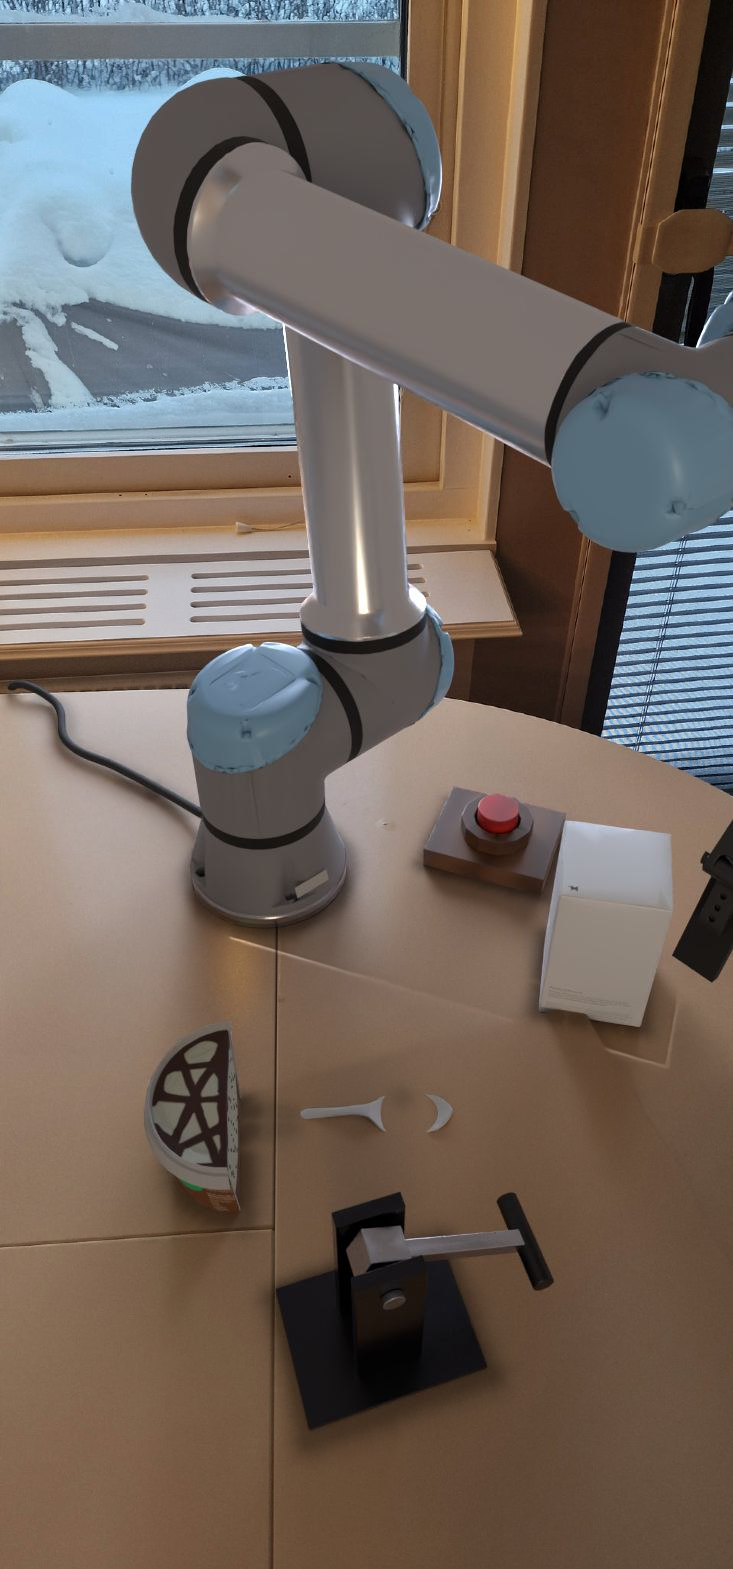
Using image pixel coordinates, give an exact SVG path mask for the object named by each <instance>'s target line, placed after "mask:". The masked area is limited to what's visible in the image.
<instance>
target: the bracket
mask: <svg viewBox="0 0 733 1569" xmlns="http://www.w3.org/2000/svg"><path fill="white" fill-rule="evenodd" d="M330 1215H331V1230H332V1246H333V1247H332V1249H333V1263H334V1269H333V1270H330V1271H327V1272H324V1273H320V1274H317V1275H314V1276H312V1277H308V1278H305V1279H304V1278H303V1279H301V1280H299V1281H295V1282H292V1283H289V1284H286V1285H282V1286H280V1287H277V1288H275V1294H276V1298H277V1303H278V1307H279V1311H280V1315H281V1320H282V1323H283V1328H284V1331H285V1337H286V1341H287V1344H288V1348H289V1353H290V1357H291V1360H292V1361H291V1362H292V1365H293V1369H294V1374H295V1378H296V1381H297V1382H296V1383H297V1385H298V1386H297V1387H298V1390H299V1394H300V1398H301V1403H302V1407H303V1410H304V1415H305V1419H306V1424H307V1427H308V1428H307V1429H308V1430H309V1431H313V1430H315V1429H319V1428H322V1427H324V1426H327V1425H330V1424H334V1423H335V1422H340V1421H341V1420H344V1419H347V1418H349V1417H352V1416H355V1415H359V1414H362V1413H365V1412H367V1411H370V1410H372V1409H375V1408H379V1407H381V1406H385V1405H387V1404H389V1403H393V1402H395V1401H399V1400H401V1399H404V1398H406V1397H410V1396H412V1395H415V1394H419V1393H421V1392H424V1391H426V1390H429V1389H433V1388H435V1387H437V1386H441V1385H444V1384H447V1383H449V1382H452V1381H456V1380H458V1379H461V1378H464V1377H466V1376H470V1375H472V1374H474V1373H478V1372H481V1371H483V1370H486V1369H488V1365H487V1362H486V1359H485V1355H484V1354H483V1351H482V1348H481V1344H480V1343H479V1341H478V1337H477V1334H476V1332H475V1329H474V1326H473V1323H472V1321H471V1318H470V1316H469V1313H468V1311H467V1307H466V1305H465V1302H464V1300H463V1296H462V1294H461V1292H460V1290H459V1286H458V1284H457V1280H456V1278H455V1275H454V1273H453V1270H452V1267H451V1265H450V1262H449V1260H441V1261H431V1262H425V1260H424V1257H423V1255H419V1256H416V1257H413V1258H410V1259H406V1260H403V1261H400V1262H397V1263H394V1264H391V1265H388V1266H385V1267H382V1268H378V1269H375V1270H372V1271H369V1272H366V1273H363V1274H360V1275H357V1276H354V1275H353V1272H352V1268H351V1265H350V1262H349V1258H348V1255H347V1252H346V1249H347V1248H348V1246H349V1245H350V1243H351V1242H352V1241H353V1239H354V1238H355V1236H356V1235H357V1234H358V1232H359V1231H360V1229H362V1228H373V1227H385V1226H397V1225H400V1226H401V1228H402V1231H403V1234H404V1235H405V1229H406V1228H405V1227H406V1202H405V1201H404V1198H403V1195H402V1192H401V1191H397V1192H394V1193H391V1194H387V1195H385V1196H381V1197H377V1198H375V1199H371V1200H368V1201H364V1202H361V1203H358V1204H355V1205H352V1206H348V1207H344V1208H342V1209H337V1210H335V1211H332V1212H331V1213H330Z"/></svg>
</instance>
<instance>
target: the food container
mask: <svg viewBox="0 0 733 1569" xmlns="http://www.w3.org/2000/svg"><path fill="white" fill-rule="evenodd" d="M232 1032H233V1029H232V1026H231V1023H230V1021H229V1020H227V1021H221V1022H216V1023H215V1022H214V1023H212V1024H208V1025H205V1026H203V1027H200V1028H199V1029H195V1030H193V1031H192V1032H191V1033H189V1034H187V1035H186V1036H184V1037H182V1038H181V1039H180V1040H179V1041H178V1042H176V1043H175V1044H174V1045H173V1046H172V1047H171V1048H170V1049H169V1050H168V1051H167V1052H166V1053H165V1054H164V1055H163V1057H162V1058H161V1060H160V1061H159V1063H158V1065H157V1066H156V1068H155V1069H154V1071H153V1073H152V1076H151V1077H150V1080H149V1083H148V1086H147V1089H146V1094H145V1101H144V1109H143V1124H144V1125H143V1126H144V1131H145V1136H146V1139H147V1143H148V1144H149V1147H150V1149H151V1151H152V1153H153V1154H154V1156H155V1158H156V1159H157V1161H158V1162H159V1163H160V1164H161V1165H162V1166H163V1168H164V1169H165V1170H167V1171H168V1172H170V1173H171V1174H172V1175H173V1176H174V1177H175V1178H177V1179H178V1181H179V1183H180V1184H181V1186H182V1187H183V1189H184V1191H186V1193H187V1194H188V1195H189V1196H190V1197H191V1198H192V1199H194V1200H195V1201H196V1202H197V1203H199V1204H201V1205H203V1206H205V1207H207V1208H210V1209H212V1210H216V1211H219V1212H228V1213H237V1212H239V1213H240V1212H241V1206H240V1196H241V1194H240V1192H241V1188H240V1187H241V1157H240V1156H241V1154H240V1153H241V1099H242V1096H243V1095H242V1090H241V1084H240V1078H239V1073H238V1067H237V1060H236V1054H235V1050H234V1043H233V1038H232Z"/></svg>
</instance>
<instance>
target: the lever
mask: <svg viewBox="0 0 733 1569" xmlns="http://www.w3.org/2000/svg"><path fill="white" fill-rule="evenodd" d="M496 1205H497V1207H498V1210H499V1212H500V1215H501V1217H502V1220H503V1222H504V1224H505V1226H506V1228H507V1230H496V1231H495V1230H494V1231H485V1232H473V1233H472V1232H471V1233H461V1234H450V1235H449V1234H448V1235H440V1236H428V1237H418V1238H417V1237H416V1238H406V1237H405V1233H404V1234H403V1231H402V1228H401V1226H400V1225H397V1226H385V1227H373V1228H362V1229H360V1231H359V1232H358V1234H357V1235H356V1236H355V1238H354V1239H353V1241H352V1242H351V1243H350V1245H349V1246H348V1248H347V1249H346V1252H347V1255H348V1258H349V1262H350V1265H351V1268H352V1272H353V1275H354V1276H357V1275H360V1274H363V1273H366V1272H369V1271H372V1270H375V1269H378V1268H382V1267H385V1266H388V1265H391V1264H394V1263H397V1262H400V1261H403V1260H406V1259H410V1258H413V1257H416V1256H419V1255H423V1257H424V1260H425V1262H431V1261H441V1260H448V1261H449V1260H458V1259H460V1260H461V1259H467V1258H468V1259H469V1258H478V1257H488V1256H497V1255H506V1254H516V1253H517V1254H518V1255H517V1256H518V1257H519V1259H520V1262H521V1264H522V1266H523V1269H524V1271H525V1273H526V1276H527V1278H528V1280H529V1283H530V1285H531V1287H532V1290H533V1291H534V1292H535V1291H536V1292H539V1291H543V1290H546V1289H548V1288H549V1287H551V1286H552V1285H553V1284H554V1283H555V1279H554V1277H553V1274H552V1272H551V1269H550V1267H549V1266H548V1263H547V1260H546V1258H545V1256H544V1254H543V1252H542V1249H541V1247H540V1244H539V1242H538V1241H537V1238H536V1236H535V1233H534V1231H533V1229H532V1227H531V1224H530V1222H529V1220H528V1218H527V1216H526V1214H525V1211H524V1209H523V1206H522V1203H521V1202H520V1200H519V1197H518V1194H517V1193H515V1192H513V1191H510V1192H506V1193H504V1194H502V1195H500V1196H499V1197H498V1198H497V1199H496Z"/></svg>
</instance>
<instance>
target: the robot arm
mask: <svg viewBox="0 0 733 1569" xmlns="http://www.w3.org/2000/svg"><path fill="white" fill-rule="evenodd" d="M422 101H423V100H421V99H420V98H419V97H417V96H416V95H415V94H414V92H413V91H412V89H411V86H410V84H409V83H408V82H407V81H406V80H405V79H404V78H403V77H401V75H400V74H398V73H396V72H395V71H394V70H393V69H391V68H389V67H387V66H384V65H382V64H379V63H376V62H370V61H334V60H332V59H330V60H328V61H325V62H324V61H323V62H318V63H311V64H305V65H299V66H294V67H289V68H282V69H281V68H280V69H276V70H270V71H265V72H264V71H263V72H259V73H251V74H246V75H240V76H239V75H238V76H233V77H230V76H229V77H228V76H224V77H216V78H211V79H206V80H202V81H198V82H195V83H193V84H191V85H189V86H188V87H185V88H183V89H182V90H179V91H177V92H176V93H174V94H173V95H172V96H171V97H169V99H168V100H166V101H165V102H164V103H163V104H162V105H160V107H159V108H158V109H157V110H156V111H155V113H153V115H152V116H151V118H150V119H149V121H148V123H147V124H146V126H145V128H144V129H143V131H142V133H141V135H140V137H139V141H138V143H137V146H136V148H135V151H134V152H135V153H134V156H133V161H132V166H131V175H130V176H131V177H130V195H131V203H132V210H133V215H134V218H135V221H136V225H137V228H138V231H139V234H140V236H141V239H142V240H143V243H144V244H145V246H146V248H147V250H148V251H149V253H150V254H151V257H152V258H153V260H154V261H155V262H156V264H157V265H158V266H159V267H160V269H161V270H162V271H163V272H164V273H165V274H166V275H167V276H168V277H169V278H170V279H171V280H172V281H173V282H174V283H175V284H176V285H178V286H179V287H180V288H183V289H184V290H185V291H187V292H188V293H190V294H191V295H192V296H194V297H196V298H197V299H199V300H200V301H202V302H204V303H207V304H208V305H210V306H212V307H214V308H215V309H216V310H219V311H221V312H223V313H224V314H227V315H231V316H237V317H247V316H252V315H256V314H258V313H261V314H263V315H264V316H266V317H268V318H270V319H272V320H274V321H275V322H278V323H280V324H281V325H282V327H283V336H284V344H285V352H286V362H287V370H288V379H289V387H290V388H289V389H290V397H291V405H292V406H291V407H292V415H293V423H294V431H295V439H296V449H297V450H296V451H297V457H298V466H299V475H300V484H301V493H302V502H303V510H304V520H305V528H306V535H307V546H308V553H309V562H310V571H311V579H312V580H311V581H312V589H313V591H312V592H311V593H309V595H308V596H307V597H306V598H305V600H303V601H302V604H301V606H299V607H300V608H299V621H300V629H301V638H302V639H301V640H302V641H301V643H300V644H299V645H297V646H296V647H295V646H293V645H289V644H286V643H281V642H273V641H270V642H269V641H266V642H264V641H263V642H262V643H261V644H260V645H259V646H257V647H255V646H253V644H252V643H248V644H244V645H240V646H238V647H235V648H232V649H229V650H227V651H225V652H224V653H221V654H220V655H218V656H216V657H215V658H214V659H212V660H211V661H209V662H208V663H207V664H206V665H205V666H204V667H203V668H202V669H201V670H200V672H198V674H197V675H196V677H195V678H194V680H193V682H192V683H191V686H190V687H189V690H188V694H187V701H186V718H187V719H186V720H187V724H186V740H187V743H188V746H189V749H190V751H191V757H192V763H193V769H194V770H193V771H194V775H195V776H194V777H195V783H196V789H197V795H198V802H199V806H198V805H196V803H194V802H191V801H189V800H188V799H186V798H184V797H183V796H181V795H179V794H177V793H176V792H174V791H172V790H170V789H168V788H166V787H164V786H163V785H161V784H159V783H158V782H155V781H153V780H152V779H150V778H149V777H147V776H144V775H143V774H141V773H139V772H137V771H136V770H134V769H131V768H129V767H127V766H126V765H123V764H122V763H120V762H118V761H115V760H113V759H111V758H108V757H105V756H104V755H103V756H102V755H100V754H97V753H95V752H92V751H90V750H88V749H85V748H83V747H81V746H79V745H77V744H76V743H75V742H74V741H73V740H72V739H71V738H70V737H69V735H68V732H67V726H66V724H67V723H66V711H65V708H64V705H63V704H62V702H61V701H59V699H58V698H56V697H55V695H53V694H52V693H50V692H49V691H48V690H46V689H45V688H42V687H41V686H39V685H37V684H35V683H33V682H30V681H26V680H14V681H11V682H10V683H9V684H8V685H7V690H8V691H12V692H13V691H16V690H18V689H22V690H25V691H29V692H31V693H33V694H35V695H37V696H39V697H41V698H42V699H44V700H45V701H46V702H47V703H49V704H50V705H51V706H52V707H53V709H54V710H55V714H56V725H57V726H56V728H57V729H56V730H57V735H58V738H59V740H60V741H61V743H62V744H63V745H64V746H65V748H67V749H68V751H70V752H71V753H73V754H74V755H76V756H78V757H80V758H82V759H83V760H86V761H88V762H89V761H90V762H92V763H95V764H97V765H100V766H103V767H105V768H108V769H110V770H112V771H115V772H116V773H118V774H120V775H122V776H124V777H126V778H128V779H130V780H132V781H133V782H135V783H137V784H139V785H141V786H143V787H144V788H146V789H148V790H150V791H151V792H153V793H156V794H157V795H159V796H160V797H162V798H164V799H166V800H168V801H170V802H171V803H173V804H175V805H176V806H178V807H180V808H182V809H184V810H186V811H187V812H189V813H190V814H192V815H194V816H196V817H197V818H199V819H200V822H199V825H198V828H197V831H196V836H195V839H194V843H193V847H192V850H191V855H190V861H189V862H190V863H189V868H190V876H191V882H192V886H193V890H194V892H195V894H196V896H197V898H198V900H199V901H200V902H201V903H202V905H203V906H204V907H205V908H206V909H207V910H208V911H210V913H212V914H214V915H215V916H216V917H218V918H221V919H222V920H224V921H227V922H229V923H231V924H234V925H238V926H243V927H249V928H261V929H262V928H263V929H264V928H265V929H267V928H279V927H283V926H289V925H292V924H296V923H299V922H302V921H305V920H307V919H309V918H311V917H313V916H315V915H317V914H318V913H320V912H321V911H322V910H324V909H325V908H326V907H327V906H329V905H330V904H331V903H332V901H333V900H335V898H336V897H337V896H338V894H339V893H340V892H341V889H342V888H343V886H344V883H345V880H346V876H347V866H348V865H347V849H346V845H345V843H344V839H343V837H342V835H341V833H340V832H339V830H338V829H337V826H336V824H335V822H334V819H333V817H332V814H330V810H329V809H328V807H327V805H326V786H325V784H326V783H325V781H326V779H327V777H328V776H329V775H330V774H332V773H334V772H336V771H337V770H339V769H340V768H342V767H343V766H345V765H346V764H348V763H350V762H351V761H353V760H355V759H356V758H358V757H360V756H361V755H363V754H364V753H366V752H368V751H370V750H371V749H373V748H375V747H376V746H378V745H380V744H381V743H383V742H385V741H386V740H388V739H390V738H391V737H393V736H394V735H396V734H398V733H399V732H401V731H403V730H404V729H407V728H409V727H412V726H414V725H415V724H416V723H417V722H419V721H421V720H422V719H423V718H424V717H425V716H426V715H427V714H428V713H429V712H431V711H432V710H433V709H434V708H436V707H437V706H438V705H439V704H440V703H441V702H442V701H443V700H444V698H445V697H446V695H447V694H448V691H449V690H450V687H451V684H452V681H453V677H454V673H455V672H454V671H455V656H454V655H455V654H454V648H453V643H452V639H451V636H450V635H449V632H444V631H443V629H442V627H443V625H444V622H443V620H442V618H441V617H440V615H439V614H438V613H437V611H436V610H435V609H434V608H433V607H431V606H430V605H429V604H428V603H427V600H426V598H425V596H424V594H423V593H422V592H421V591H420V590H419V589H418V588H417V587H415V586H414V585H413V584H411V583H410V582H409V571H408V570H409V569H408V552H407V549H408V548H407V528H406V512H405V510H406V509H405V492H404V478H403V477H404V475H403V473H404V472H403V455H402V453H403V452H402V436H401V417H400V398H399V388H400V389H403V390H405V391H406V392H409V393H410V394H412V395H414V396H415V397H417V398H419V399H421V400H422V401H425V402H427V403H429V404H431V405H432V406H434V407H436V408H438V409H440V410H442V411H444V412H446V413H447V414H449V415H451V416H453V417H455V418H457V419H458V420H461V421H462V422H464V423H466V424H468V425H470V426H471V427H474V428H475V429H477V430H479V431H480V432H483V433H484V434H486V435H489V436H490V437H491V438H494V439H496V440H498V441H500V442H502V443H503V444H506V445H507V446H509V447H511V448H512V449H514V450H516V451H518V452H520V453H522V454H524V455H525V456H527V457H529V458H531V459H533V460H535V461H536V462H539V463H541V464H543V465H544V466H546V467H549V468H550V469H551V477H552V482H553V486H554V490H555V493H556V496H557V500H558V501H559V504H560V506H561V507H562V509H563V511H566V512H568V514H569V515H570V516H571V518H572V520H573V521H574V522H575V523H576V524H577V528H578V531H579V532H580V533H581V534H583V535H584V536H585V537H586V538H587V539H589V540H590V541H592V542H593V543H595V544H597V545H599V546H601V547H603V548H606V549H608V550H611V551H616V552H621V553H634V554H635V553H643V552H648V551H653V550H656V549H659V548H661V547H663V546H666V545H668V544H671V543H672V542H675V541H677V540H679V539H682V538H683V537H685V536H688V535H691V534H693V533H697V532H699V531H701V530H704V529H706V528H708V527H709V526H711V525H713V524H715V523H716V522H717V521H719V520H720V518H721V517H723V516H725V515H726V514H727V513H729V511H730V510H731V509H733V290H731V291H730V292H729V294H728V295H727V297H726V299H725V301H724V304H720V305H718V306H717V307H716V308H715V309H714V311H713V312H712V313H711V315H710V317H709V319H708V320H707V322H706V323H705V325H704V326H703V330H702V332H701V333H700V336H699V338H698V341H697V344H696V346H695V347H690V346H686V345H682V344H680V343H678V342H675V341H673V340H670V339H668V338H665V337H662V336H661V335H659V334H656V333H654V332H652V331H649V330H647V329H643V328H641V327H639V326H636V325H634V324H632V323H631V322H627V321H626V320H624V319H621V318H619V317H617V316H615V315H612V314H610V313H608V312H605V311H603V310H601V309H598V308H596V307H594V306H592V305H590V304H589V303H588V304H587V303H585V302H583V301H581V300H578V299H576V298H574V297H571V296H569V295H568V294H565V293H562V292H560V291H558V290H556V289H553V288H551V287H549V286H546V285H545V284H542V283H540V282H538V281H535V280H533V279H531V278H528V277H526V276H524V275H521V274H520V273H517V272H514V271H512V270H510V269H508V268H505V267H504V266H501V265H499V264H497V263H494V262H492V261H489V260H488V259H486V258H483V257H481V256H478V255H476V254H474V253H473V252H469V251H467V250H465V249H462V248H460V247H458V246H455V245H453V244H451V243H449V242H447V241H445V240H442V239H440V238H438V237H435V236H433V235H431V234H428V233H426V232H424V231H423V230H424V229H425V228H426V227H427V226H428V224H429V223H430V220H431V215H432V214H433V213H434V212H436V210H437V207H438V204H439V201H440V196H441V191H442V183H443V166H442V165H443V164H442V163H443V162H442V155H441V150H440V145H439V140H438V136H437V133H436V129H435V127H434V124H433V122H432V118H431V117H430V115H429V113H428V111H427V108H426V106H425V105H424V103H423V102H422ZM699 864H701V865H702V866H701V870H702V872H704V873H705V874H708V875H709V876H710V877H709V879H708V882H707V884H706V885H705V888H704V890H703V891H702V894H701V896H700V898H699V900H698V902H697V904H696V906H695V907H694V910H693V912H692V913H691V916H690V918H689V920H688V922H687V924H686V926H685V928H684V929H683V932H682V933H681V936H680V938H679V940H678V942H677V944H676V946H675V948H674V950H673V952H672V954H671V956H672V957H673V958H675V959H676V960H678V961H679V962H680V963H682V964H684V965H685V966H687V967H688V968H689V969H690V970H692V971H694V972H695V973H697V974H698V975H699V976H701V977H703V979H705V980H706V981H708V982H710V983H711V984H712V983H713V982H715V981H716V980H717V979H718V978H719V976H720V975H721V972H722V971H723V969H724V967H725V965H726V963H727V961H728V959H729V957H730V956H731V954H732V952H733V819H732V820H731V821H730V822H729V824H728V826H727V827H726V829H725V831H724V832H723V834H722V835H721V837H720V838H719V840H718V841H717V843H716V844H715V846H714V847H713V849H712V851H711V852H709V851H708V850H705V851H704V852H703V854H702V856H701V858H700V862H699Z"/></svg>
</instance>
